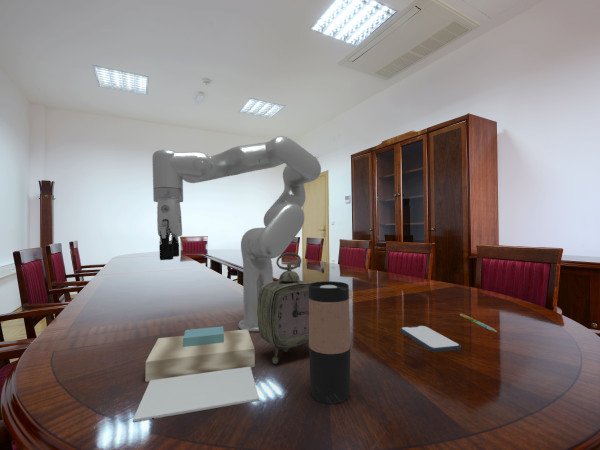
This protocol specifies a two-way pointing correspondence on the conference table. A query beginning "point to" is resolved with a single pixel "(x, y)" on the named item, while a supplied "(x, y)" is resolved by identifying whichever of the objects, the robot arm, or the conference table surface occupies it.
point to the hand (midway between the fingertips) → (170, 258)
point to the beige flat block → (199, 356)
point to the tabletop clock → (284, 310)
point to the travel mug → (329, 341)
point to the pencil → (478, 322)
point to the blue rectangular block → (203, 336)
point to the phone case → (430, 339)
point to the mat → (197, 393)
